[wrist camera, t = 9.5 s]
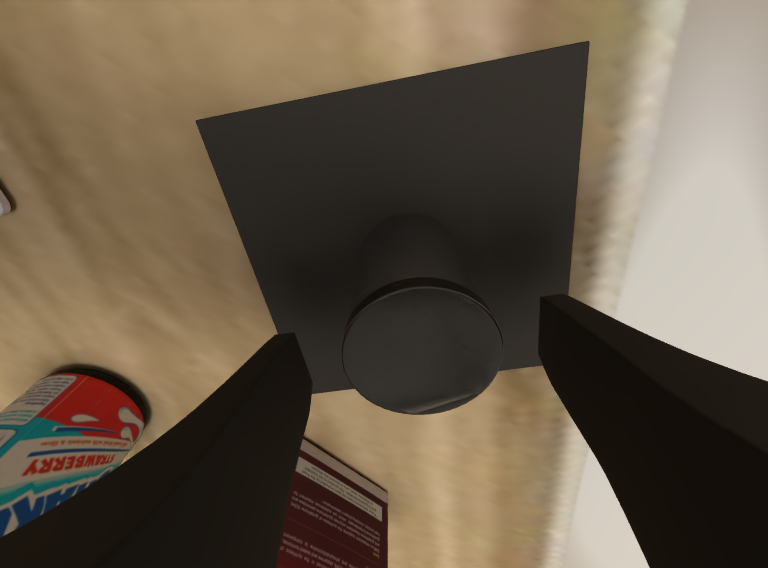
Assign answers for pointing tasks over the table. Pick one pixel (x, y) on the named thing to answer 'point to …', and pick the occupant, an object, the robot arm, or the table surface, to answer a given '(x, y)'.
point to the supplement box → (332, 517)
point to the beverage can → (63, 441)
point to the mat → (410, 190)
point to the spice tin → (418, 321)
